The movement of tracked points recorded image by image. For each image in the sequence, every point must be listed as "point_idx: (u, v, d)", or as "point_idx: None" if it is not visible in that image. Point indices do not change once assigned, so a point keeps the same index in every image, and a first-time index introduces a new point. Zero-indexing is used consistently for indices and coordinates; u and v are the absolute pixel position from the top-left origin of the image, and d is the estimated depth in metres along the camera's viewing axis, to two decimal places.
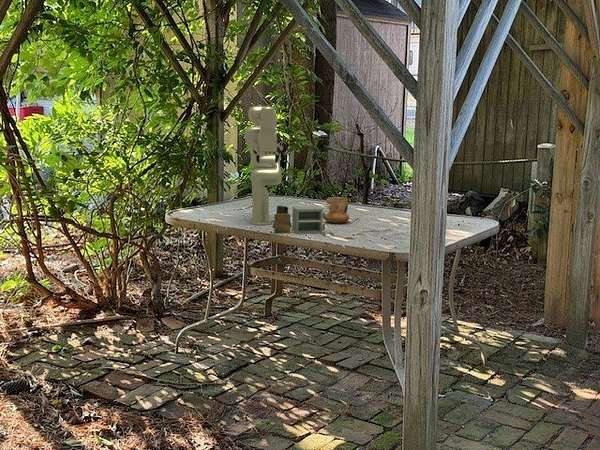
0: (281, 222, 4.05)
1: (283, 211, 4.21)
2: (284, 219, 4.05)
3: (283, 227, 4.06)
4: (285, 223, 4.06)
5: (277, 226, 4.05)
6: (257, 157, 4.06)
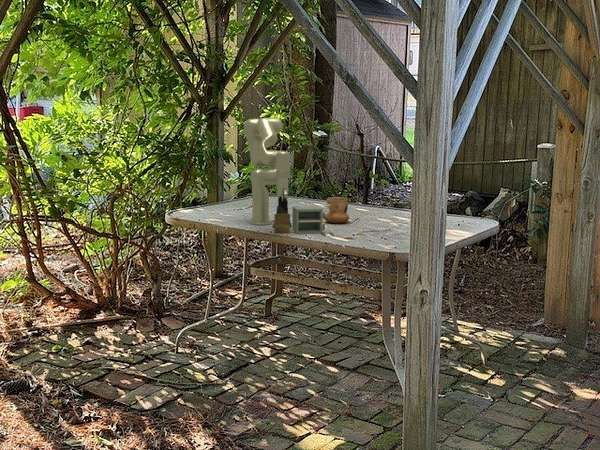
0: (281, 222, 4.05)
1: (283, 211, 4.21)
2: (284, 219, 4.05)
3: (283, 227, 4.06)
4: (285, 223, 4.06)
5: (277, 226, 4.05)
6: (286, 203, 3.99)
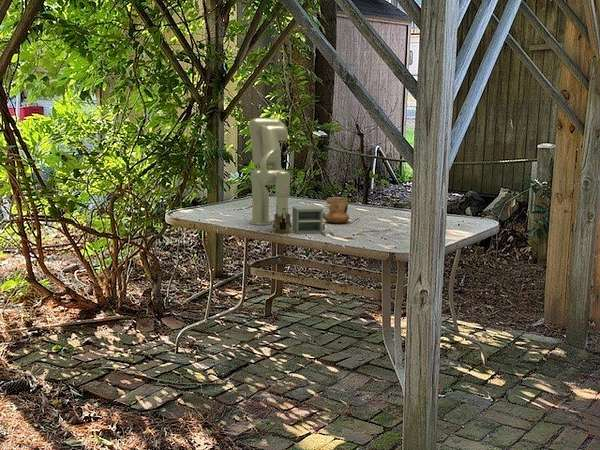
0: None
1: None
2: None
3: None
4: None
5: (277, 226, 4.05)
6: (284, 224, 4.05)
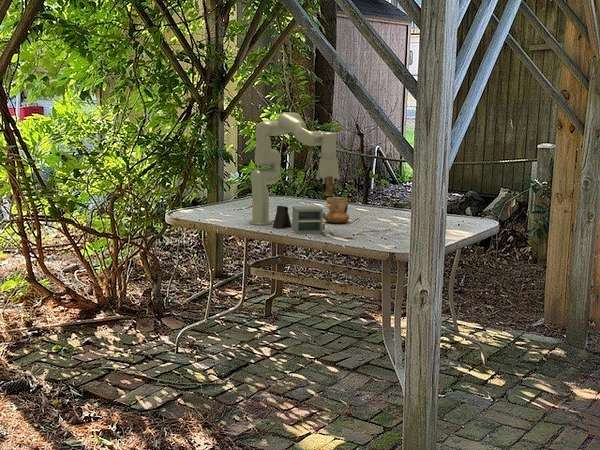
0: None
1: (283, 211, 4.21)
2: None
3: None
4: None
5: None
6: None
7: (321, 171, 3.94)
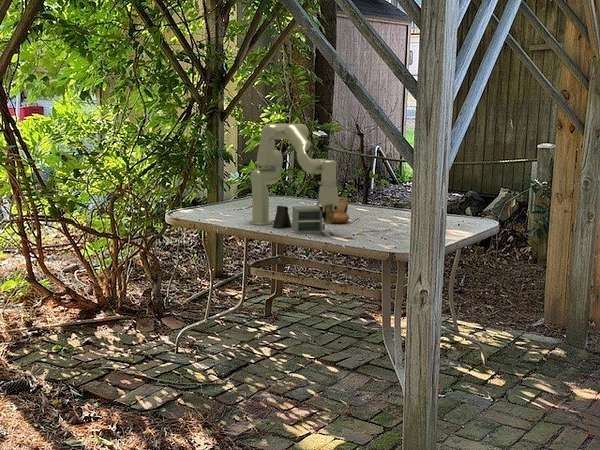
0: None
1: (283, 211, 4.21)
2: None
3: None
4: None
5: None
6: None
7: (321, 199, 3.96)
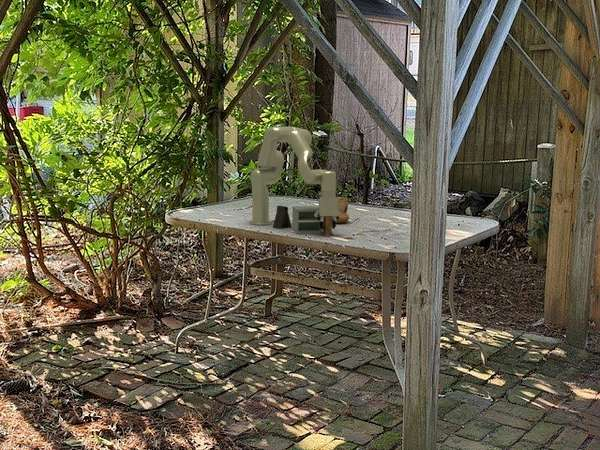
0: None
1: (283, 211, 4.21)
2: None
3: None
4: None
5: None
6: None
7: (321, 210, 3.97)
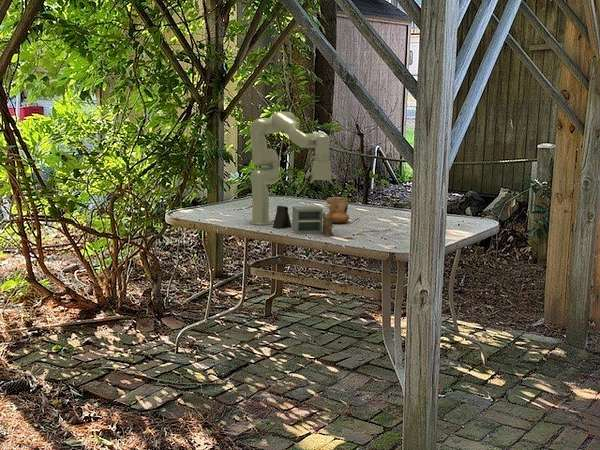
0: None
1: (283, 211, 4.21)
2: None
3: None
4: None
5: None
6: None
7: (314, 173, 3.99)
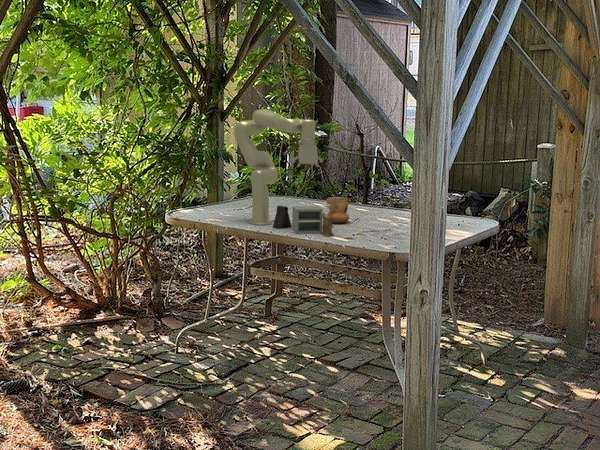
0: None
1: (283, 211, 4.21)
2: None
3: None
4: None
5: None
6: None
7: (301, 157, 4.09)
